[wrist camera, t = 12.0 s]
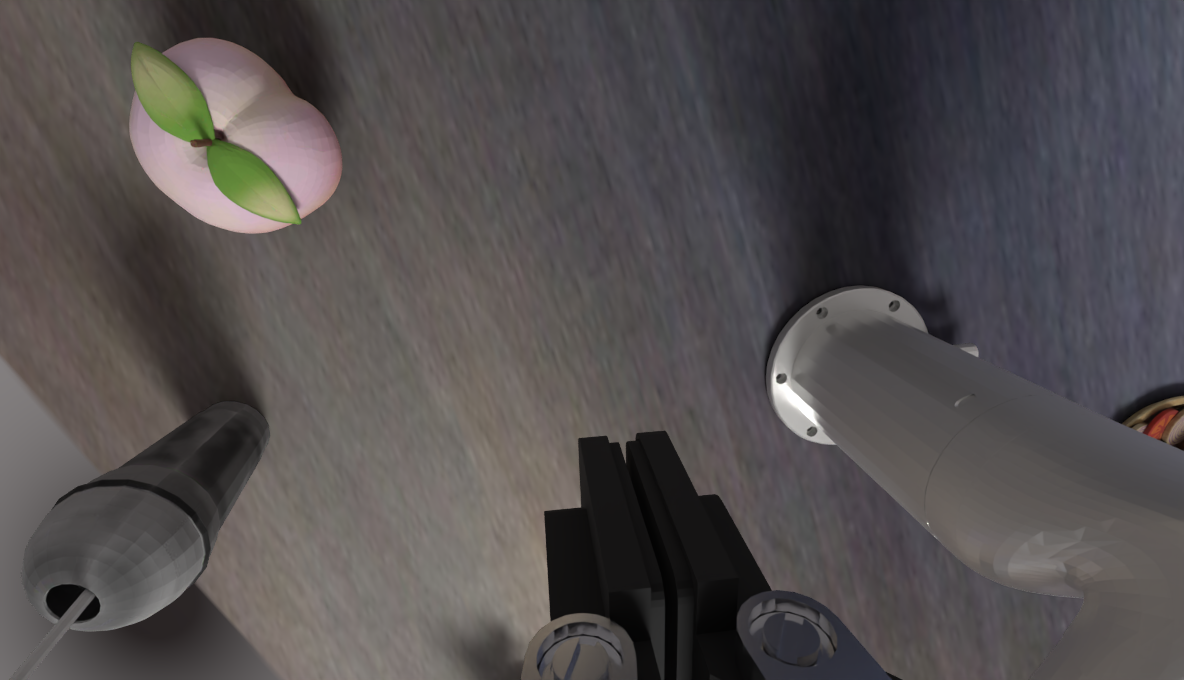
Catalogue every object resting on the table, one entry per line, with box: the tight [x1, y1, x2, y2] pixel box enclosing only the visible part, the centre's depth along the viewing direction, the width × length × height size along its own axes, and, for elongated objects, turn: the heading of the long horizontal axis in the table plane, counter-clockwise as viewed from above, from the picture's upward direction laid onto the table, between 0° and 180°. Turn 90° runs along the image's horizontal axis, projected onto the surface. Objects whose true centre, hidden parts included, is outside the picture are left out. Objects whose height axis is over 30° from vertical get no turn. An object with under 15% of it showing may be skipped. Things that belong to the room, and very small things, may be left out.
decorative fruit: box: [129, 38, 342, 233], centre depth 29 cm, size 9×8×10 cm
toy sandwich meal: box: [1122, 396, 1184, 451], centre depth 49 cm, size 12×14×5 cm
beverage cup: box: [9, 401, 270, 680], centre depth 30 cm, size 7×7×20 cm
